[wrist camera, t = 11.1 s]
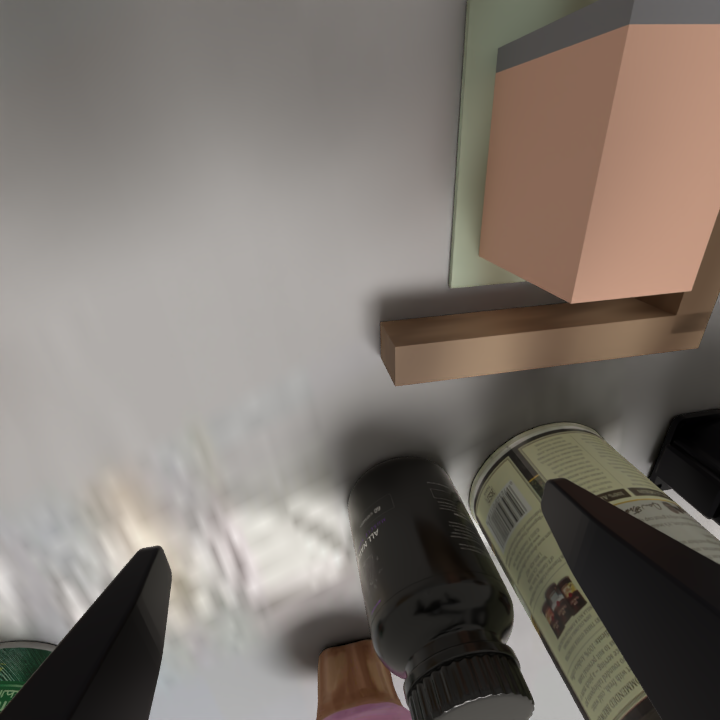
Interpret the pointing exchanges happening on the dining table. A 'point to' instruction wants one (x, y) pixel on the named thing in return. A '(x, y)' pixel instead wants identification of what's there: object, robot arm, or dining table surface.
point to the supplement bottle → (434, 596)
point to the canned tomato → (19, 666)
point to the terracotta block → (606, 150)
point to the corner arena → (526, 324)
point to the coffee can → (548, 566)
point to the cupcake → (356, 685)
